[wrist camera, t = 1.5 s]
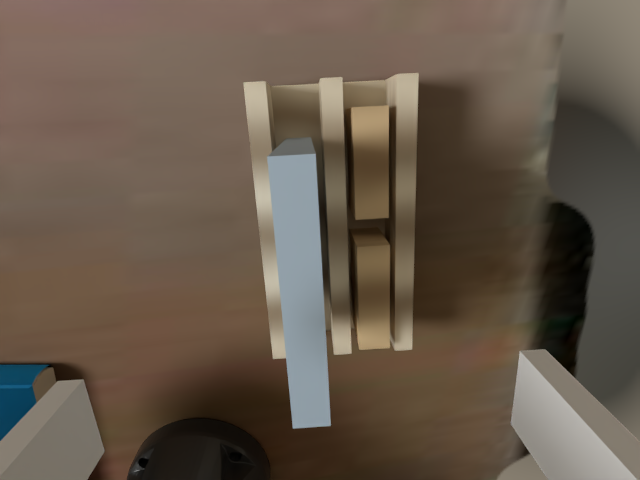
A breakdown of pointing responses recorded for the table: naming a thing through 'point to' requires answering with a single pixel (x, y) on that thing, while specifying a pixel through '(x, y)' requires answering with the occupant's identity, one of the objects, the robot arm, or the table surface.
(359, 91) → the rack
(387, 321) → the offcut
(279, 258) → the pale blue panel
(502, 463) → the table surface
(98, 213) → the table surface
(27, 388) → the book
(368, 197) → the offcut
